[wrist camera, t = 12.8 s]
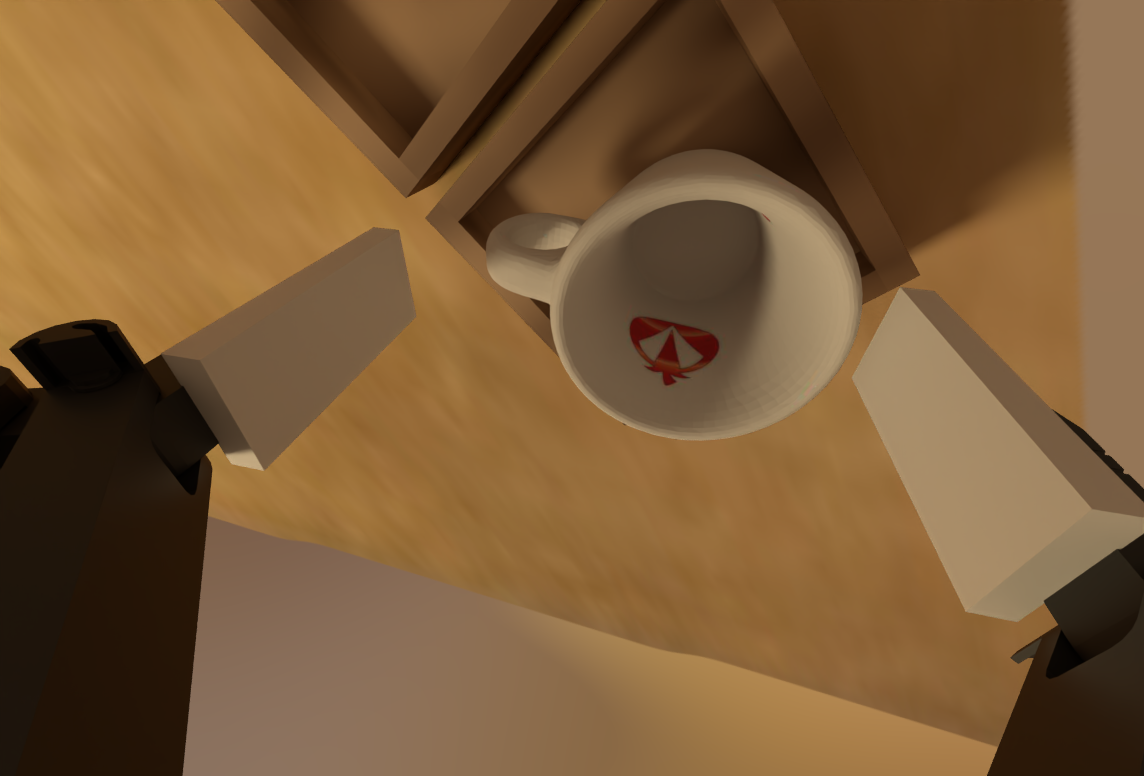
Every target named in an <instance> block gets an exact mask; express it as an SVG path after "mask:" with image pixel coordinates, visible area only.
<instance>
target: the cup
mask: <svg viewBox="0 0 1144 776" xmlns="http://www.w3.org/2000/svg"><path fill="white" fill-rule="evenodd" d="M486 261H487V269H488V272H489V274H490V276H491V277H492V279H493V280H494V281H495V282H496V283H497V284H499V285H500V286H502V287H503V288H505V289H507V290H509V291H511V292H514V293H517V294H520V295H522V296H525V297H529V298H533V299H536V300H540V301H543V302H546V303H548V304H550V321H551V329H552V334H553V339H554V343H555V346H556V349H557V352H558V355H559V357H560V359H561V362H562V364H563V366H564V367H565V369H566V371H567V373H568V374H569V376H570V378H571V379H572V380H573V382H574V383H575V384H576V386H577V387H578V388H579V389H580V390H581V392H582V393H583V394H584V395H585V396H586V397H587V398H588V399H589V400H590V401H591V402H593V403H594V404H595V405H596V406H597V407H599V408H600V409H601V410H602V411H604V412H605V413H607V414H608V415H610V416H611V417H613V418H615V419H617V420H618V421H620V422H622V423H624V424H626V425H628V426H630V427H632V428H635V429H638V430H641V431H644V432H647V433H650V434H653V435H657V436H662V437H667V438H672V439H681V440H716V439H724V438H731V437H736V436H740V435H744V434H748V433H751V432H754V431H757V430H760V429H763V428H765V427H768V426H770V425H772V424H774V423H776V422H779V421H781V420H783V419H785V418H786V417H788V416H790V415H791V414H793V413H794V412H796V411H798V410H799V409H801V408H802V407H803V406H805V405H806V404H807V403H808V402H810V401H811V400H812V399H813V398H815V397H816V396H817V395H818V394H819V393H820V392H821V391H822V390H823V389H824V388H825V387H826V386H827V385H828V383H829V382H830V381H831V380H832V378H833V377H834V376H835V375H836V374H837V372H838V371H839V369H840V368H841V366H842V364H843V363H844V361H845V359H846V358H847V356H848V354H849V352H850V350H851V348H852V345H853V343H854V340H855V338H856V335H857V331H858V327H859V324H860V318H861V312H862V296H863V292H862V282H861V275H860V271H859V266H858V263H857V260H856V257H855V254H854V251H853V248H852V247H851V245H850V243H849V241H848V239H847V237H846V235H845V233H844V232H843V230H842V229H841V227H840V226H839V224H838V223H837V221H836V220H835V219H834V218H833V217H832V216H831V215H830V213H829V212H828V211H827V210H826V209H825V208H824V207H823V206H822V205H821V204H820V203H819V202H817V201H816V200H815V199H814V198H813V197H811V196H810V195H809V194H807V193H806V192H804V191H803V190H801V189H800V188H798V187H797V186H795V185H793V184H792V183H790V182H788V181H786V180H785V179H783V178H781V177H780V176H778V175H776V174H774V173H773V172H771V171H769V170H768V169H766V168H764V167H763V166H761V165H759V164H757V163H756V162H754V161H752V160H750V159H748V158H746V157H743V156H741V155H738V154H735V153H732V152H728V151H723V150H715V149H699V150H690V151H684V152H681V153H678V154H674V155H671V156H669V157H667V158H664V159H662V160H660V161H658V162H656V163H654V164H653V165H651V166H650V167H648V168H647V169H645V170H644V171H642V172H641V173H640V174H639V175H637V176H636V177H635V178H634V179H633V180H631V181H630V182H629V183H628V184H627V185H625V186H624V187H623V188H622V189H621V190H620V191H618V192H617V193H616V194H615V195H614V196H612V197H611V198H610V199H609V200H608V201H606V202H605V203H604V204H603V205H602V206H600V207H599V208H598V209H597V210H596V211H595V212H594V213H593V214H592V215H591V216H590V217H589V218H588V219H587V220H584V219H579V218H574V217H569V216H564V215H557V214H551V213H528V214H522V215H518V216H514V217H512V218H509V219H507V220H505V221H503V222H501V223H500V224H499V225H497V226H496V227H495V228H494V229H493V230H492V232H491V233H490V235H489V237H488V240H487V244H486Z"/></svg>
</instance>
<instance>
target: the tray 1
mask: <svg viewBox="0 0 1144 776" xmlns="http://www.w3.org/2000/svg"><path fill="white" fill-rule="evenodd" d="M215 1H216V2H217V3H218V4H219V5H220V6H221V7H222V8H223V9H224V10H225V11H226V12H227V13H228V14H229V15H230V16H231V17H232V18H233V19H234V20H235V21H236V22H237V23H238V24H239V25H240V26H241V27H242V29H243V30H244V31H245V32H246V33H247V34H248V35H249V36H250V37H251V38H252V39H253V40H254V41H255V42H256V43H257V44H258V45H259V46H260V47H261V48H262V49H263V50H264V51H265V52H266V53H267V54H268V56H269V57H270V58H271V59H272V60H273V61H274V62H275V63H276V64H277V65H278V66H279V67H280V68H281V69H282V70H283V71H284V72H285V73H286V74H287V75H288V76H289V77H290V78H291V79H292V80H293V81H294V82H295V84H296V85H297V86H298V87H299V88H300V89H301V90H302V91H303V92H304V93H305V94H306V95H307V96H308V97H309V98H310V99H311V100H312V101H313V102H314V103H315V104H316V105H317V106H318V107H319V108H320V109H321V111H322V112H323V113H324V114H325V115H326V116H327V117H328V118H329V119H330V120H331V121H332V122H333V123H334V124H335V125H336V126H337V127H338V128H339V129H340V130H341V131H342V132H343V133H344V134H345V135H346V136H347V138H348V139H349V140H350V141H351V142H352V143H353V144H354V145H355V146H356V147H357V148H358V149H359V150H360V151H361V152H362V153H363V154H364V155H365V156H366V157H367V158H368V159H369V160H370V161H371V162H372V163H373V164H374V166H375V167H376V168H377V169H378V170H379V171H380V172H381V173H382V174H383V175H384V176H385V177H386V178H387V179H388V180H389V181H390V182H391V183H392V184H393V185H394V186H395V187H396V188H397V189H398V190H399V191H400V193H401V194H402V195H403V196H404V197H405V198H407V197H409V196H411V195H413V194H415V193H417V192H419V191H421V190H423V189H425V188H426V187H428V186H430V185H432V184H434V183H435V182H436V181H437V180H438V178H439V177H440V176H441V175H442V173H443V172H444V171H445V170H446V168H447V167H448V166H449V165H450V163H451V162H452V161H453V160H454V158H455V157H456V156H457V155H458V153H459V152H460V151H461V150H462V148H463V147H464V146H465V145H466V143H467V142H468V141H469V140H470V138H471V137H472V136H473V135H474V133H475V132H476V131H477V130H478V128H479V127H480V126H481V125H482V123H483V122H484V121H485V120H486V118H487V117H488V116H489V115H490V113H491V112H492V111H493V110H494V108H495V107H496V106H497V105H498V103H499V102H500V101H501V100H502V98H503V97H504V96H505V95H506V93H507V92H508V91H509V90H510V88H511V87H512V86H513V85H514V83H515V82H516V81H517V80H518V78H519V77H520V76H521V75H522V73H523V72H524V71H525V70H526V68H527V67H528V66H529V65H530V63H531V62H532V61H533V60H534V58H535V57H536V56H537V55H538V53H539V52H540V51H541V50H542V48H543V47H544V46H545V45H546V43H547V42H548V41H549V40H550V38H551V37H552V36H553V35H554V33H555V32H556V31H557V30H558V28H559V27H560V26H561V25H562V23H563V22H564V21H565V20H566V18H567V17H568V16H569V15H570V13H571V12H572V11H573V10H574V8H575V7H576V6H577V5H578V3H579V2H580V1H581V0H215Z"/></svg>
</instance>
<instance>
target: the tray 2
mask: <svg viewBox="0 0 1144 776" xmlns="http://www.w3.org/2000/svg"><path fill="white" fill-rule="evenodd" d="M699 149H715V150H723V151H728V152H732V153H735V154H738V155H741V156H743V157H746V158H748V159H750V160H752V161H754V162H756V163H757V164H759V165H761V166H763V167H764V168H766V169H768V170H769V171H771V172H773V173H774V174H776V175H778V176H780V177H781V178H783V179H785V180H786V181H788V182H790V183H792V184H793V185H795V186H797V187H798V188H800V189H801V190H803V191H804V192H806V193H807V194H809V195H810V196H811V197H813V198H814V199H815V200H816V201H817V202H819V203H820V204H821V205H822V206H823V207H824V208H825V209H826V210H827V211H828V212H829V213H830V215H831V216H832V217H833V218H834V219H835V220H836V221H837V223H838V224H839V226H840V227H841V229H842V230H843V232H844V233H845V235H846V237H847V239H848V241H849V243H850V245H851V247H852V248H853V251H854V254H855V257H856V260H857V263H858V266H859V271H860V275H861V282H862V292H863V296H862V305H863V304H864V303H866V302H868V301H870V300H872V299H874V298H876V297H878V296H880V295H882V294H884V293H886V292H888V291H890V290H892V289H894V288H896V287H898V286H900V285H902V284H904V283H906V282H908V281H910V280H912V279H914V278H915V277H917V276H919V275H920V274H919V272H918V270H917V268H916V266H915V265H914V263H913V261H912V259H911V257H910V255H909V253H908V252H907V250H906V248H905V246H904V244H903V242H902V240H901V238H900V237H899V235H898V233H897V231H896V229H895V227H894V225H893V224H892V222H891V220H890V218H889V216H888V214H887V212H886V211H885V209H884V207H883V205H882V203H881V201H880V199H879V197H878V196H877V194H876V192H875V190H874V188H873V186H872V184H871V183H870V181H869V179H868V177H867V175H866V173H865V171H864V169H863V168H862V166H861V164H860V162H859V160H858V158H857V156H856V155H855V153H854V151H853V149H852V147H851V145H850V143H849V142H848V140H847V138H846V136H845V134H844V132H843V130H842V128H841V127H840V125H839V123H838V121H837V119H836V117H835V115H834V114H833V112H832V110H831V108H830V106H829V104H828V102H827V101H826V99H825V97H824V95H823V93H822V91H821V89H820V87H819V86H818V84H817V82H816V80H815V78H814V76H813V74H812V73H811V71H810V69H809V67H808V65H807V63H806V61H805V60H804V58H803V56H802V54H801V52H800V50H799V48H798V46H797V45H796V43H795V41H794V39H793V37H792V35H791V33H790V32H789V30H788V28H787V26H786V24H785V22H784V20H783V18H782V17H781V15H780V13H779V11H778V9H777V7H776V5H775V4H774V2H773V0H607V1H606V2H605V3H604V4H603V6H602V7H601V8H600V9H599V10H598V12H597V13H596V14H595V15H594V16H593V18H592V19H591V20H590V21H589V22H588V24H587V25H586V26H585V27H584V28H583V30H582V31H581V32H580V33H579V34H578V36H577V37H576V38H575V39H574V40H573V42H572V43H571V44H570V45H569V46H568V48H567V49H566V50H565V51H564V52H563V54H562V55H561V56H560V57H559V58H558V60H557V61H556V62H555V63H554V64H553V66H552V67H551V68H550V69H549V70H548V72H547V73H546V74H545V75H544V76H543V78H542V79H541V80H540V81H539V82H538V84H537V85H536V86H535V87H534V88H533V90H532V91H531V92H530V93H529V94H528V96H527V97H526V98H525V99H524V100H523V102H522V103H521V104H520V105H519V106H518V108H517V109H516V110H515V111H514V112H513V114H512V115H511V116H510V117H509V118H508V120H507V121H506V122H505V123H504V124H503V126H502V127H501V128H500V129H499V130H498V131H497V133H496V134H495V135H494V136H493V137H492V139H491V140H490V141H489V142H488V143H487V145H486V146H485V147H484V148H483V149H482V151H481V152H480V153H479V154H478V155H477V157H476V158H475V159H474V160H473V161H472V163H471V164H470V165H469V166H468V167H467V169H466V170H465V171H464V172H463V173H462V175H461V176H460V177H459V178H458V179H457V181H456V182H455V183H454V184H453V185H452V187H451V188H450V189H449V190H448V191H447V193H446V194H445V195H444V196H443V197H442V199H441V200H440V201H439V202H438V203H437V205H436V206H435V207H434V208H433V209H432V211H431V212H430V213H429V214H428V215H427V217H426V219H427V221H428V222H429V223H430V224H431V225H432V226H433V227H434V228H435V229H436V230H437V231H438V232H439V233H440V234H441V235H442V236H443V237H444V238H445V239H446V240H447V241H448V242H449V243H450V244H451V245H452V246H453V248H454V249H455V250H456V251H457V252H458V253H459V254H460V255H461V256H462V257H463V258H464V259H465V260H466V261H467V262H468V263H469V264H470V265H471V266H472V267H473V268H474V269H475V270H476V271H477V272H478V273H479V274H480V276H481V277H482V278H483V279H484V280H485V281H486V282H487V283H488V284H489V285H490V286H491V287H492V288H493V289H494V290H495V291H496V292H497V293H498V294H499V295H500V296H501V297H502V298H503V299H504V300H505V301H506V303H507V304H508V305H509V306H510V307H511V308H512V309H513V310H514V311H515V312H516V313H517V314H518V315H519V316H520V317H521V318H522V319H523V320H524V321H525V322H526V323H527V324H528V325H529V326H530V327H531V328H532V329H533V331H534V332H535V333H536V334H537V335H538V336H539V337H540V338H541V339H542V340H543V341H544V342H545V343H546V344H547V345H548V346H549V347H550V348H551V349H552V350H553V351H554V352H555V353H556V354H557V355H558V352H557V349H556V346H555V343H554V339H553V334H552V329H551V321H550V304H548V303H546V302H543V301H540V300H536V299H533V298H529V297H525V296H522V295H520V294H517V293H514V292H511V291H509V290H507V289H505V288H503V287H502V286H500V285H499V284H497V283H496V282H495V281H494V280H493V279H492V277H491V276H490V274H489V272H488V269H487V261H486V244H487V240H488V237H489V235H490V233H491V232H492V230H493V229H494V228H495V227H496V226H497V225H499V224H500V223H501V222H503V221H505V220H507V219H509V218H512V217H514V216H518V215H522V214H528V213H551V214H557V215H564V216H569V217H574V218H579V219H584V220H587V219H588V218H589V217H590V216H591V215H592V214H593V213H594V212H595V211H596V210H597V209H598V208H599V207H600V206H602V205H603V204H604V203H605V202H606V201H608V200H609V199H610V198H611V197H612V196H614V195H615V194H616V193H617V192H618V191H620V190H621V189H622V188H623V187H624V186H625V185H627V184H628V183H629V182H630V181H631V180H633V179H634V178H635V177H636V176H637V175H639V174H640V173H641V172H642V171H644V170H645V169H647V168H648V167H650V166H651V165H653V164H654V163H656V162H658V161H660V160H662V159H664V158H667V157H669V156H671V155H674V154H678V153H681V152H684V151H690V150H699ZM558 356H559V355H558ZM559 358H560V357H559ZM623 424H624V423H623ZM624 425H626V424H624Z"/></svg>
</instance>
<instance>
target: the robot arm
mask: <svg viewBox="0 0 1144 776" xmlns="http://www.w3.org/2000/svg"><path fill="white" fill-rule="evenodd" d="M415 317H416V313H415V308H414V303H413V298H412V293H411V288H410V283H409V278H408V273H407V268H406V263H405V258H404V253H403V248H402V243H401V239H400V234H399V230H393V229H384V228H375V227H374V228H372V229H370V230H369V231H367V232H365V233H364V234H362V235H360V236H358V237H357V238H355V239H353V240H352V241H350V242H348V243H347V244H345V245H343V246H342V247H340V248H338V249H337V250H335V251H333V252H331V253H330V254H328V255H326V256H325V257H323V258H321V259H320V260H318V261H316V262H315V263H313V264H311V265H310V266H308V267H306V268H304V269H303V270H301V271H299V272H298V273H296V274H294V275H293V276H291V277H289V278H288V279H286V280H284V281H283V282H281V283H279V284H277V285H276V286H274V287H272V288H271V289H269V290H267V291H266V292H264V293H262V294H261V295H259V296H257V297H256V298H254V299H252V300H250V301H249V302H247V303H245V304H244V305H242V306H240V307H239V308H237V309H235V310H234V311H232V312H230V313H229V314H227V315H225V316H223V317H222V318H220V319H218V320H217V321H215V322H213V323H212V324H210V325H208V326H207V327H205V328H203V329H202V330H200V331H198V332H196V333H195V334H193V335H191V336H190V337H188V338H186V339H185V340H183V341H181V342H180V343H178V344H176V345H175V346H173V347H171V348H169V349H168V350H166V351H164V352H163V353H161V355H159V356H158V357H156V358H154V359H153V360H151V361H149V362H148V363H146V364H143V362H142V361H141V359H140V358H139V356H138V355H137V353H136V352H135V351H134V349H133V348H132V346H131V345H130V343H129V342H128V340H127V339H126V337H125V336H124V334H123V333H122V331H121V330H120V329H119V327H118V326H117V324H115V323H113V322H111V321H109V320H98V319H92V320H82V321H74V322H70V323H65V324H61V325H56V326H53V327H50V328H47V329H44V330H41V331H38V332H36V333H34V334H32V335H30V336H28V337H26V338H24V339H22V340H20V341H18V342H17V343H16V344H15V345H14V346H12V347H11V348H10V349H9V350H10V351H11V352H12V353H13V354H14V355H15V356H16V357H17V359H18V360H19V361H20V362H21V363H22V364H23V365H24V366H25V368H26V369H27V370H28V371H29V372H30V373H31V374H32V375H33V377H34V378H35V379H36V380H37V381H38V382H39V383H40V384H41V386H42V387H43V388H29V389H28V388H27V387H26V386H25V385H24V384H23V383H22V382H21V381H20V380H19V379H18V377H17V376H16V375H15V374H14V373H13V372H12V371H11V370H10V369H9V368H6V367H3V366H0V776H182V775H183V764H184V755H185V754H184V753H185V743H186V734H187V724H188V714H189V713H188V712H189V703H190V692H191V683H192V673H193V662H194V652H195V642H196V632H197V621H198V611H199V600H200V591H201V581H202V570H203V560H204V550H205V540H206V539H205V538H206V529H207V519H208V509H209V499H210V489H211V478H212V466H211V462H210V461H209V459H208V458H207V456H206V455H205V454H207V453H208V452H209V451H210V450H211V449H212V448H214V447H215V446H216V445H217V444H219V445H220V447H221V448H222V450H223V452H224V453H225V455H226V456H227V458H228V459H229V461H230V463H231V464H233V465H238V466H243V467H248V468H253V469H258V470H263V471H264V470H265V469H266V468H267V467H268V466H269V465H270V464H271V463H272V462H273V461H274V460H275V459H276V458H277V457H278V456H279V455H280V454H281V453H282V452H283V451H284V450H285V449H286V448H287V447H288V446H289V445H290V444H291V443H292V442H293V441H294V440H295V439H296V438H297V437H298V436H299V435H300V434H301V433H302V432H303V431H304V430H305V429H306V428H307V427H308V426H309V425H310V424H311V423H312V422H313V421H314V420H315V419H316V418H317V417H318V416H319V415H320V414H321V413H322V412H323V411H324V410H325V409H326V408H327V407H328V406H329V405H330V403H331V402H332V401H333V400H334V399H335V398H336V397H337V396H338V395H339V394H340V393H341V392H342V391H343V390H344V389H345V388H346V387H347V386H348V385H349V384H350V383H351V382H352V381H353V380H354V379H355V378H356V377H357V376H358V375H359V374H360V373H361V372H362V371H363V370H364V369H365V368H366V367H367V366H368V365H369V364H370V363H371V362H372V361H373V360H374V359H375V358H376V357H377V356H378V355H379V354H380V353H381V352H382V351H383V350H384V349H385V348H386V347H387V346H388V345H389V344H390V343H391V342H392V341H393V340H394V339H395V338H396V337H397V336H398V335H399V334H400V333H401V331H402V330H403V329H404V328H405V327H406V326H407V325H408V324H409V323H410V322H411V321H412V320H413V319H414V318H415ZM852 379H853V381H854V384H855V386H856V388H857V390H858V392H859V394H860V396H861V398H862V400H863V402H864V404H865V406H866V408H867V410H868V412H869V414H870V416H871V418H872V420H873V422H874V425H875V427H876V429H877V431H878V433H879V435H880V437H881V439H882V441H883V443H884V445H885V447H886V449H887V451H888V453H889V455H890V457H891V459H892V461H893V463H894V465H895V468H896V470H897V472H898V474H899V476H900V478H901V480H902V482H903V484H904V486H905V488H906V490H907V492H908V494H909V496H910V498H911V500H912V502H913V504H914V506H915V509H916V511H917V513H918V515H919V517H920V519H921V521H922V523H923V525H924V527H925V529H926V531H927V533H928V535H929V537H930V539H931V541H932V543H933V545H934V547H935V550H936V552H937V554H938V556H939V558H940V560H941V562H942V564H943V566H944V568H945V570H946V572H947V574H948V576H949V578H950V580H951V582H952V584H953V586H954V588H955V591H956V593H957V595H958V597H959V599H960V601H961V603H962V605H963V607H964V609H965V611H966V612H970V613H975V614H980V615H985V616H990V617H995V618H1000V619H1005V620H1010V621H1015V622H1018V621H1019V620H1021V619H1022V618H1024V617H1025V616H1027V615H1028V614H1029V613H1031V612H1032V611H1034V610H1035V609H1037V608H1038V607H1039V606H1041V605H1042V604H1044V603H1045V605H1046V606H1047V608H1048V609H1049V611H1050V612H1051V614H1052V616H1053V617H1054V619H1055V620H1056V622H1057V623H1058V625H1057V626H1056V627H1054V628H1053V629H1051V630H1050V631H1048V632H1047V633H1045V634H1043V635H1042V636H1040V637H1039V638H1037V639H1036V640H1034V641H1032V642H1031V643H1029V644H1028V645H1026V646H1025V647H1023V648H1021V649H1020V650H1018V651H1017V652H1016V653H1015V654H1014V655H1013V656H1012V657H1011V659H1013V660H1014V661H1015V662H1017V663H1018V664H1019V663H1020V662H1022V661H1024V660H1025V659H1027V658H1034V659H1033V661H1032V664H1031V666H1030V669H1029V671H1028V674H1027V676H1026V679H1025V681H1024V684H1023V686H1022V689H1021V691H1020V694H1019V696H1018V699H1017V701H1016V704H1015V707H1014V709H1013V712H1012V714H1011V717H1010V719H1009V722H1008V724H1007V727H1006V729H1005V732H1004V734H1003V737H1002V739H1001V742H1000V744H999V747H998V749H997V752H996V754H995V757H994V759H993V762H992V764H991V767H990V770H989V772H988V774H987V776H1144V489H1143V488H1142V487H1141V486H1140V485H1139V484H1138V483H1137V482H1136V481H1135V480H1134V479H1133V478H1132V477H1131V476H1130V475H1129V474H1124V473H1123V471H1124V469H1123V468H1122V467H1121V466H1120V465H1119V464H1118V463H1117V462H1116V461H1115V460H1114V459H1113V458H1112V457H1111V456H1109V455H1105V450H1103V449H1102V447H1100V445H1098V443H1096V442H1095V441H1094V440H1093V439H1092V438H1091V437H1090V436H1089V435H1088V434H1087V433H1086V432H1085V431H1084V430H1083V429H1082V428H1080V427H1079V426H1077V425H1076V424H1074V423H1072V422H1071V421H1069V420H1068V419H1066V418H1065V417H1063V416H1062V415H1060V414H1059V413H1057V412H1056V411H1054V410H1052V409H1051V408H1050V407H1049V406H1048V405H1047V404H1046V403H1045V402H1044V401H1043V400H1042V399H1041V398H1040V397H1039V396H1038V395H1037V394H1036V393H1035V392H1034V391H1033V390H1032V389H1031V388H1030V387H1029V386H1028V385H1027V384H1026V383H1025V382H1024V381H1023V380H1022V379H1021V378H1020V377H1019V376H1018V375H1017V374H1016V373H1015V372H1014V371H1013V370H1012V369H1011V368H1010V367H1009V366H1008V365H1007V364H1006V363H1005V362H1004V361H1003V360H1002V359H1001V358H1000V357H999V356H998V355H997V354H996V353H995V352H994V351H993V350H992V349H991V348H990V347H989V346H988V345H987V344H986V343H985V342H984V341H983V340H982V339H981V338H980V337H979V336H978V334H977V333H976V332H975V331H974V330H973V329H972V328H971V327H970V326H969V325H968V324H967V323H966V322H965V321H964V320H963V319H962V318H961V317H960V316H959V315H958V314H957V313H956V312H955V311H954V310H953V309H952V308H951V307H950V306H949V305H948V304H947V303H946V302H945V301H944V300H943V299H942V298H941V297H940V296H939V295H938V294H937V293H936V292H935V291H930V290H921V289H912V288H903V287H900V288H899V290H898V292H897V294H896V296H895V298H894V300H893V301H892V303H891V305H890V307H889V309H888V311H887V313H886V315H885V316H884V318H883V320H882V322H881V324H880V326H879V328H878V330H877V331H876V333H875V335H874V337H873V339H872V341H871V343H870V345H869V346H868V348H867V350H866V352H865V354H864V356H863V358H862V360H861V361H860V363H859V365H858V367H857V369H856V371H855V373H854V375H853V376H852Z"/></svg>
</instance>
